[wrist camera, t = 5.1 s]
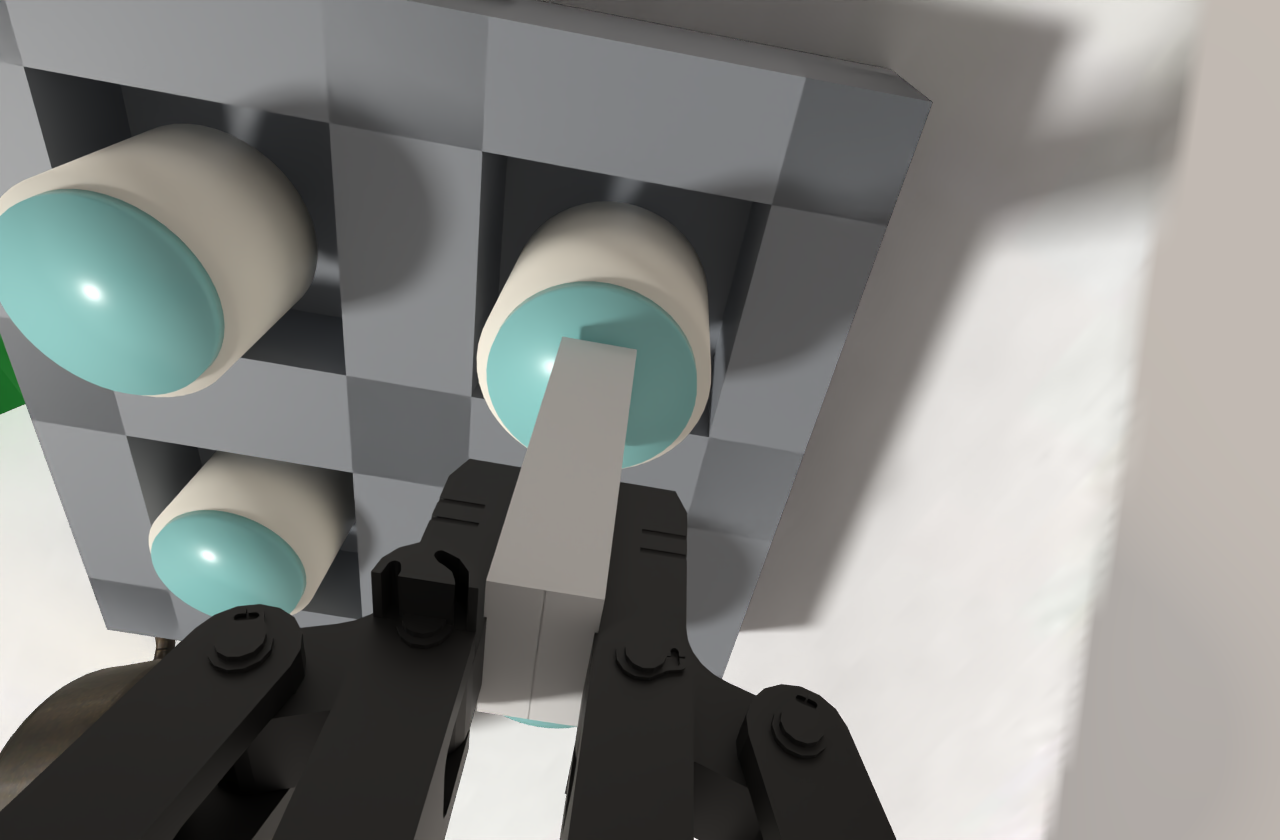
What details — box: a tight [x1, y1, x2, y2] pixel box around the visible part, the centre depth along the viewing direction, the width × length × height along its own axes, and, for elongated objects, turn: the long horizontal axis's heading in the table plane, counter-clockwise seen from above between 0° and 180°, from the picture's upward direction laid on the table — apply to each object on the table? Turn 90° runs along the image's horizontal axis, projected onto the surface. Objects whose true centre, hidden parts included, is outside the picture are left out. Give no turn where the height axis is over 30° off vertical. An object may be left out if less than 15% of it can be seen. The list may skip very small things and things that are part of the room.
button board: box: [0, 0, 933, 679], centre depth 23 cm, size 22×22×4 cm
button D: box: [149, 451, 356, 616], centre depth 24 cm, size 5×5×4 cm
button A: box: [477, 201, 711, 469], centre depth 17 cm, size 5×5×4 cm
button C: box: [0, 124, 318, 397], centre depth 17 cm, size 5×5×4 cm
